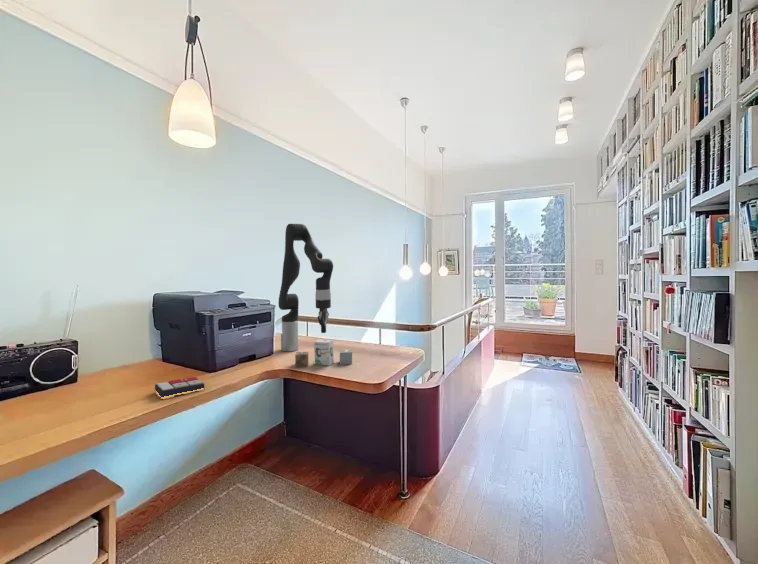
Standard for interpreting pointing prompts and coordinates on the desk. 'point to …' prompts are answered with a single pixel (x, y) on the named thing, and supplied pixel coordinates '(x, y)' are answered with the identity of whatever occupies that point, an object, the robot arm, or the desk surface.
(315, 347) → the ink box
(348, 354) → the numbered block seven
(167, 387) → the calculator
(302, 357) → the numbered block one
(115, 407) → the desk surface
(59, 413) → the desk surface
